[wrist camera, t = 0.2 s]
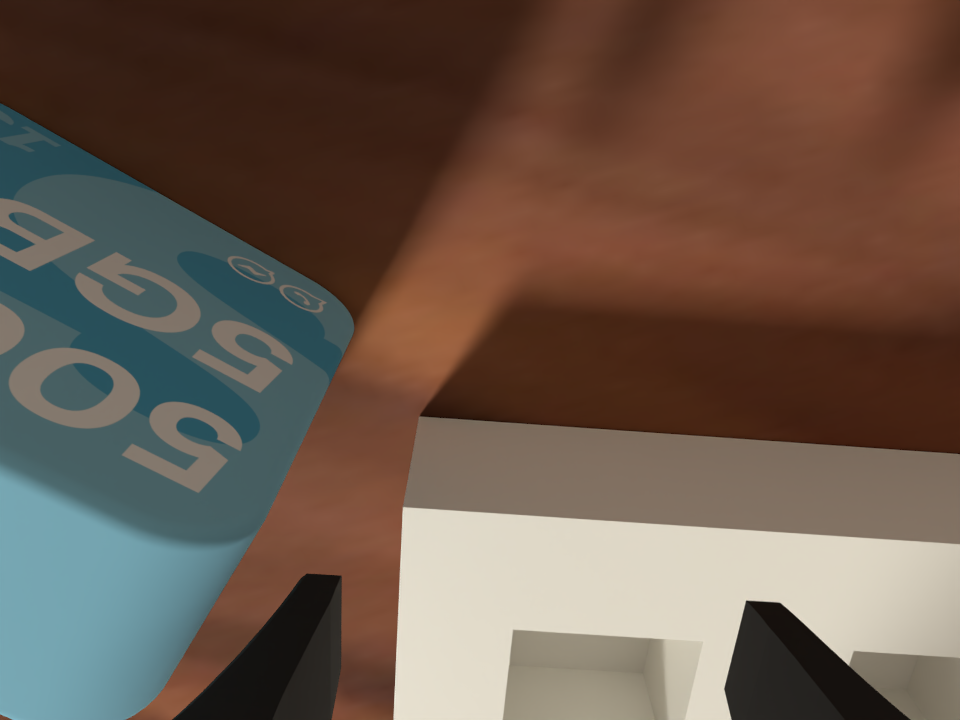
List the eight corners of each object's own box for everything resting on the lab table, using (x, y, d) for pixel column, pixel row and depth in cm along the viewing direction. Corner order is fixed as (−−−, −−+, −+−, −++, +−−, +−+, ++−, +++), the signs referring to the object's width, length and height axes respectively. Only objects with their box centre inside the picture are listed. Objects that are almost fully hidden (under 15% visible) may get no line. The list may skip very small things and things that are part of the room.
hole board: (944, 745, 28) (1037, 883, 23) (404, 713, 27) (387, 847, 23) (1062, 461, 23) (1206, 560, 19) (419, 416, 23) (402, 507, 18)
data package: (366, 308, 22) (240, 574, 10) (296, 427, 23) (120, 772, 12) (-45, 73, 19) (-769, 93, 8) (-94, 222, 21) (-767, 412, 10)
